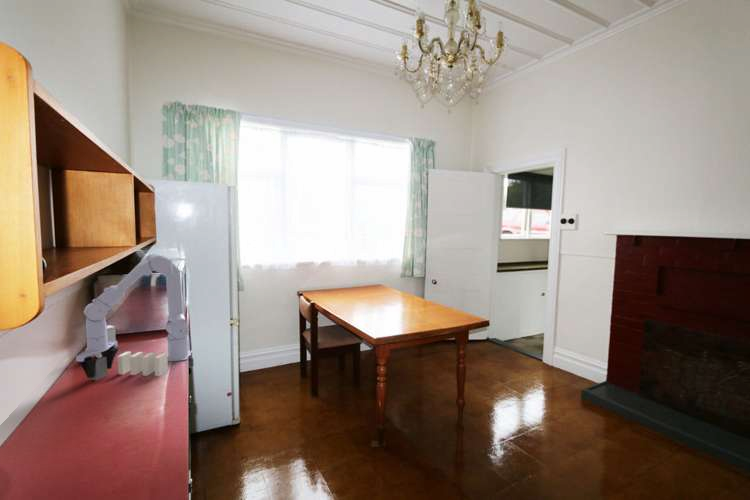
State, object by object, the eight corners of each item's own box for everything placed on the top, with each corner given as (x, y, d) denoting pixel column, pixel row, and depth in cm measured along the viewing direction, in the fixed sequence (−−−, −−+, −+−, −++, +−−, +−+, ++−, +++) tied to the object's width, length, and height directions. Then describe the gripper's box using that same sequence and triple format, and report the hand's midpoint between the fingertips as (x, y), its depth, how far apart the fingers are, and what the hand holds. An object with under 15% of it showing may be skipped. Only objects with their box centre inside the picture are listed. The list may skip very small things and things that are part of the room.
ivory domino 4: (155, 376, 124) (154, 357, 123) (163, 370, 128) (162, 352, 128) (159, 376, 124) (158, 357, 123) (167, 371, 128) (167, 353, 127)
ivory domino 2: (130, 374, 125) (129, 356, 124) (139, 369, 129) (138, 351, 128) (135, 375, 124) (134, 356, 124) (144, 369, 129) (143, 352, 128)
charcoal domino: (92, 380, 120) (90, 361, 119) (103, 375, 124) (101, 356, 124) (96, 380, 120) (95, 361, 119) (107, 375, 124) (106, 356, 124)
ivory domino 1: (118, 374, 125) (117, 356, 124) (128, 369, 129) (127, 351, 129) (123, 374, 125) (121, 356, 124) (132, 369, 129) (131, 351, 129)
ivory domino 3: (142, 375, 124) (141, 357, 124) (151, 370, 129) (150, 352, 128) (147, 375, 124) (146, 357, 123) (156, 370, 128) (155, 352, 128)
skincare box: (100, 358, 138) (98, 330, 137) (94, 357, 140) (92, 329, 139) (117, 353, 144) (115, 326, 143) (111, 351, 146) (109, 324, 145)
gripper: (104, 329, 128) (106, 363, 129) (66, 343, 114) (69, 381, 115) (121, 329, 128) (124, 364, 129) (86, 343, 113) (88, 382, 115)
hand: (99, 372), depth 122 cm, fingers open, 6 cm apart
